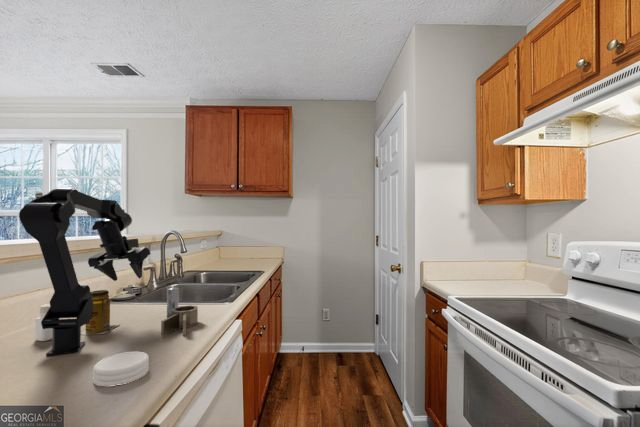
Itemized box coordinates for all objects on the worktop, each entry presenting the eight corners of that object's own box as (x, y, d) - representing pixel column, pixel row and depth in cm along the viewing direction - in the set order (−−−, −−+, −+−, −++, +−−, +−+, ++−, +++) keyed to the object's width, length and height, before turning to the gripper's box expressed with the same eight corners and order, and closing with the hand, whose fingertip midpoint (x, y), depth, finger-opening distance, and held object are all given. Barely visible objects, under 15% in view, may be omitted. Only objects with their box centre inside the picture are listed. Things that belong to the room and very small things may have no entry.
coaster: (80, 389, 61) (81, 371, 61) (114, 366, 71) (114, 350, 71) (131, 388, 61) (131, 370, 61) (157, 365, 71) (157, 350, 71)
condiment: (77, 335, 91) (78, 294, 91) (97, 325, 99) (98, 288, 100) (103, 334, 91) (103, 293, 92) (120, 325, 100) (121, 287, 100)
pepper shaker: (42, 342, 85) (43, 307, 86) (34, 340, 87) (34, 306, 87) (59, 337, 89) (60, 304, 89) (50, 335, 90) (51, 303, 91)
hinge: (198, 333, 91) (198, 316, 91) (160, 339, 87) (160, 321, 87) (197, 319, 105) (197, 304, 105) (164, 323, 101) (164, 307, 101)
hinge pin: (178, 318, 107) (178, 289, 107) (166, 319, 105) (166, 290, 106) (178, 315, 110) (178, 287, 110) (167, 316, 109) (167, 288, 109)
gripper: (152, 225, 107) (166, 264, 112) (103, 231, 109) (119, 269, 114) (131, 238, 96) (147, 281, 101) (78, 244, 99) (96, 286, 104)
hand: (128, 279), depth 105 cm, fingers open, 9 cm apart
